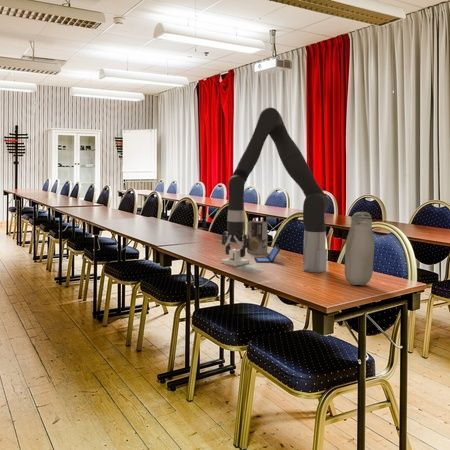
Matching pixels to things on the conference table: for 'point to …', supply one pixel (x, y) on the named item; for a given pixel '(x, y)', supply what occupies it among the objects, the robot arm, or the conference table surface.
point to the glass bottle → (359, 250)
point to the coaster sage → (255, 266)
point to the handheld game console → (269, 258)
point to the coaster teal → (244, 267)
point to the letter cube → (234, 255)
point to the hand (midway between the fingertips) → (235, 255)
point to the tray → (226, 261)
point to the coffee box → (257, 237)
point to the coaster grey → (254, 271)
